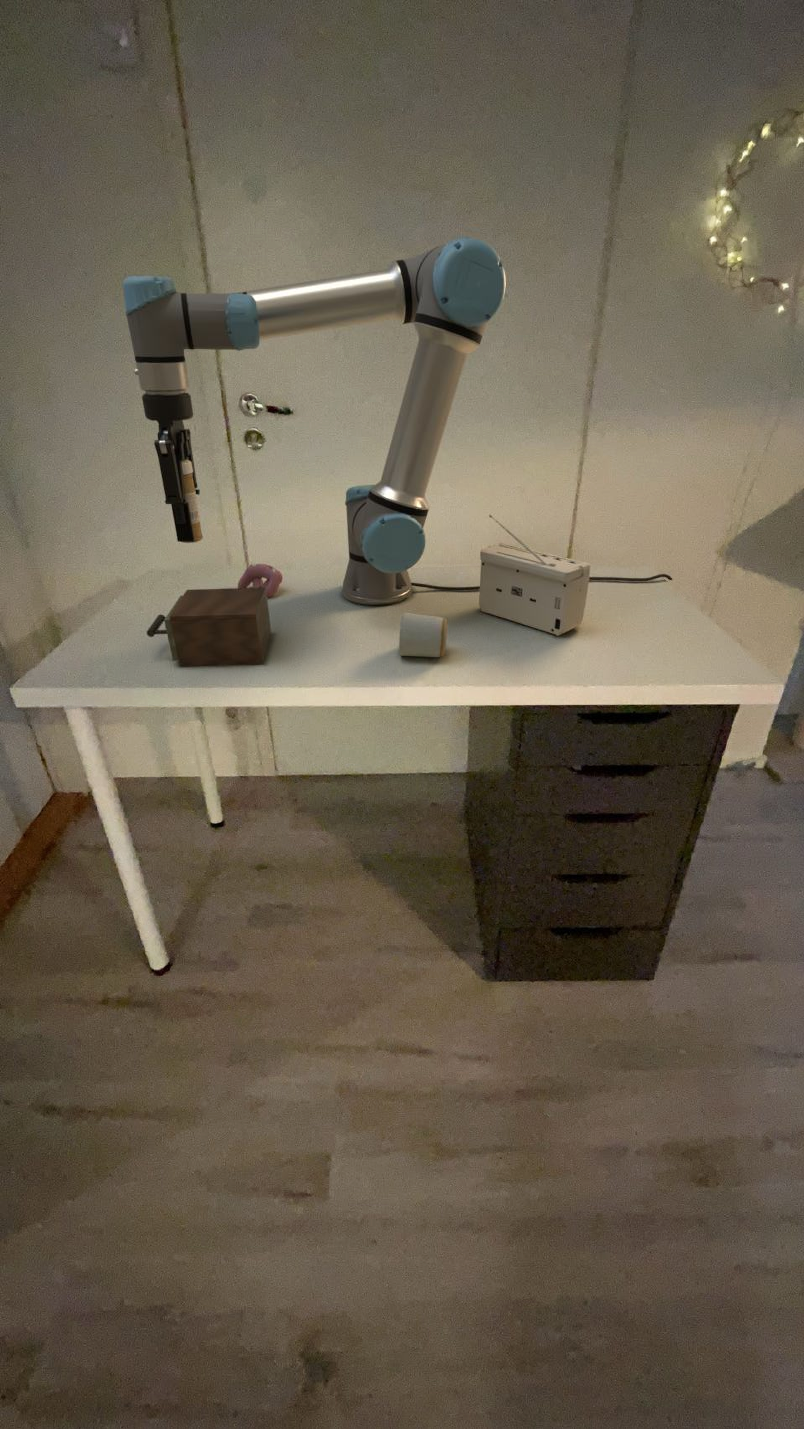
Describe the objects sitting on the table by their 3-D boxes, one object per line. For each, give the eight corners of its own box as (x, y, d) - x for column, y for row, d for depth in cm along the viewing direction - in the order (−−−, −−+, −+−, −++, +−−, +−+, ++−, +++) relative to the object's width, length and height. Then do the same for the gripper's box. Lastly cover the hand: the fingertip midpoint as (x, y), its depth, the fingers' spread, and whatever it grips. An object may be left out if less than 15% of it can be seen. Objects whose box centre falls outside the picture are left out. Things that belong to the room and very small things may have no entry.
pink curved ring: (281, 600, 146) (287, 569, 145) (267, 597, 142) (274, 565, 141) (248, 592, 150) (254, 562, 149) (234, 589, 146) (240, 558, 145)
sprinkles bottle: (198, 535, 120) (186, 457, 113) (206, 541, 117) (194, 462, 110) (173, 539, 118) (159, 460, 111) (181, 545, 114) (167, 464, 108)
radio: (583, 627, 128) (598, 525, 117) (561, 640, 123) (575, 534, 112) (496, 601, 140) (503, 506, 130) (473, 612, 135) (478, 514, 124)
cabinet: (179, 666, 116) (169, 616, 110) (195, 636, 126) (186, 589, 121) (262, 664, 116) (255, 613, 111) (271, 634, 127) (265, 587, 122)
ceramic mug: (444, 664, 115) (445, 624, 111) (398, 662, 116) (398, 622, 112) (447, 640, 124) (449, 601, 120) (405, 638, 125) (404, 600, 121)
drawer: (148, 661, 115) (138, 620, 111) (165, 634, 125) (157, 596, 121) (249, 658, 116) (243, 617, 112) (258, 631, 126) (253, 593, 122)
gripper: (157, 387, 112) (180, 523, 124) (124, 397, 97) (154, 551, 109) (201, 387, 112) (220, 523, 125) (174, 397, 97) (199, 551, 110)
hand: (189, 536), depth 117 cm, fingers closed on sprinkles bottle, 4 cm apart
